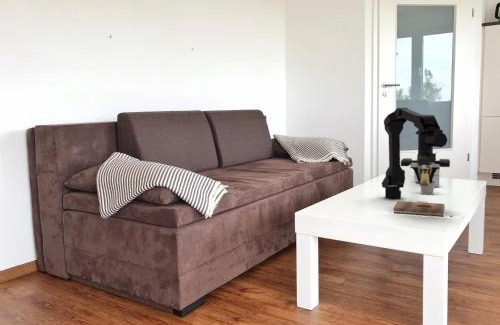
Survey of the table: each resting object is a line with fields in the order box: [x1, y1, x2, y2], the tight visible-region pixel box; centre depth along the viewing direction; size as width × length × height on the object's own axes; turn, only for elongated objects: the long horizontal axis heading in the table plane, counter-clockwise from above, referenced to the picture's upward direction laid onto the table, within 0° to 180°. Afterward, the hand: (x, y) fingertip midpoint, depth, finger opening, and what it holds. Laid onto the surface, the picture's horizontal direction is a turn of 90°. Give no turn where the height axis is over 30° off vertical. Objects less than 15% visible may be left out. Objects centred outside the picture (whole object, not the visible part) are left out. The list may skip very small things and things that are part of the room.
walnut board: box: [393, 200, 445, 218], centre depth 197 cm, size 19×23×3 cm
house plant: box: [419, 165, 443, 196], centre depth 227 cm, size 14×14×16 cm
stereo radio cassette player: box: [413, 165, 442, 188], centre depth 254 cm, size 21×8×20 cm, turn 178°
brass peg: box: [419, 168, 430, 187], centre depth 190 cm, size 4×4×7 cm
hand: (424, 183), depth 190 cm, fingers closed on brass peg, 4 cm apart
